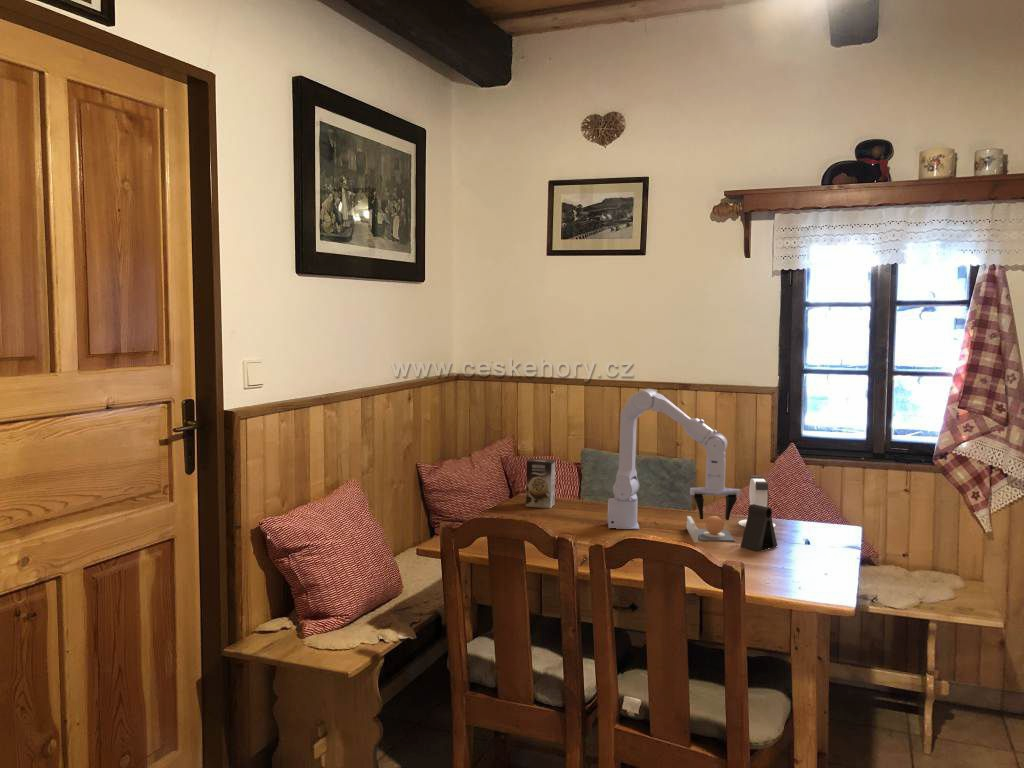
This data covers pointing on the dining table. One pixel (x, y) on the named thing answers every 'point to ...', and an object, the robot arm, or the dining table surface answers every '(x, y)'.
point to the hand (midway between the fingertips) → (714, 519)
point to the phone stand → (759, 529)
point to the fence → (692, 529)
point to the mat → (715, 536)
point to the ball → (714, 525)
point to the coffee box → (540, 483)
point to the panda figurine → (757, 494)
